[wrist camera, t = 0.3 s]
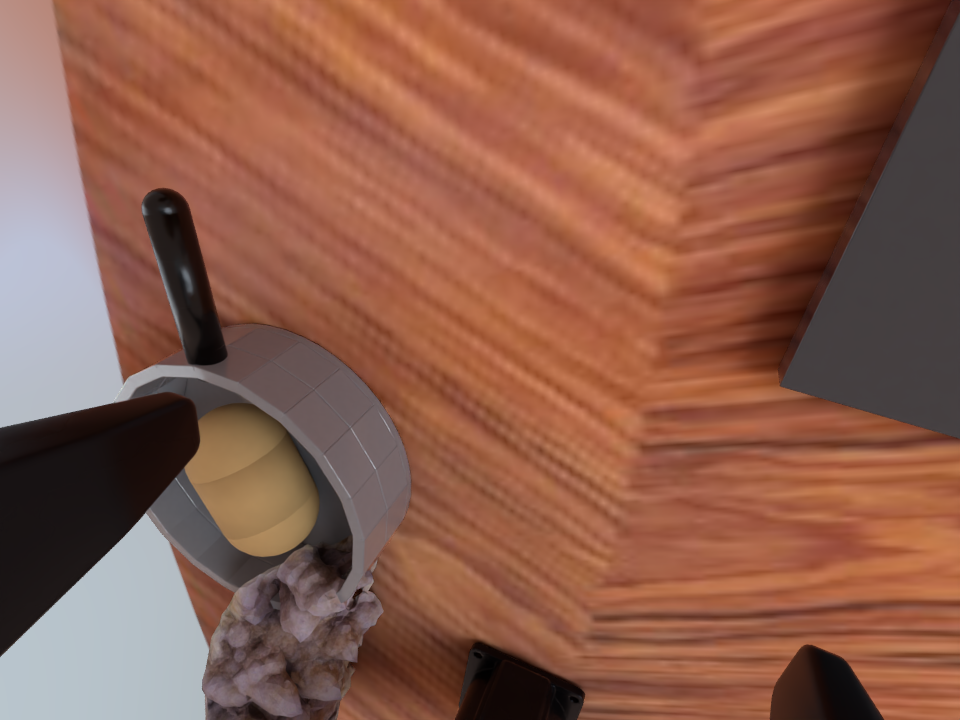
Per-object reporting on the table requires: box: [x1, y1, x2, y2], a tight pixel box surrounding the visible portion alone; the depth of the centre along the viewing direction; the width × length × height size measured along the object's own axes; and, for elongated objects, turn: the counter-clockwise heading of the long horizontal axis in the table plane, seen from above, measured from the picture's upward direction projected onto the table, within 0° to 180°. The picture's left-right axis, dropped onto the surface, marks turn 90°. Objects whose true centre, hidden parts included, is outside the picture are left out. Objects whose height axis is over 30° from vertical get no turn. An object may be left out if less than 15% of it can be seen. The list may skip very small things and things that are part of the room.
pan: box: [114, 324, 411, 610], centre depth 29 cm, size 14×14×4 cm
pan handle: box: [142, 188, 228, 383], centre depth 23 cm, size 8×2×2 cm, turn 2°
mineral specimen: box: [202, 535, 384, 720], centre depth 34 cm, size 20×10×10 cm
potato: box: [184, 403, 320, 557], centre depth 28 cm, size 8×5×5 cm, turn 22°
